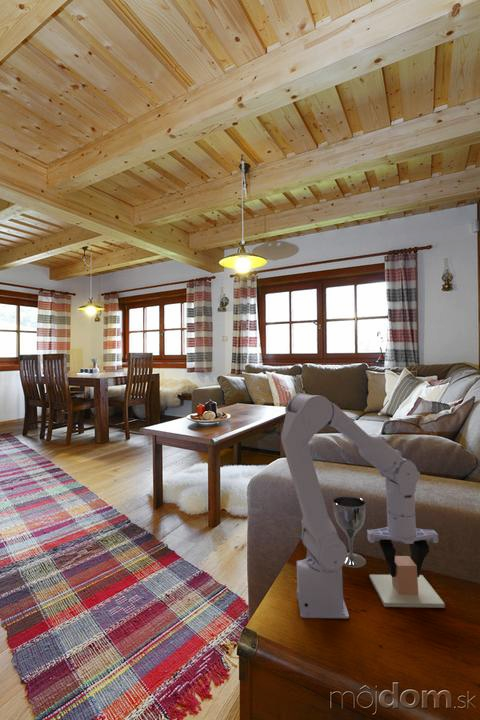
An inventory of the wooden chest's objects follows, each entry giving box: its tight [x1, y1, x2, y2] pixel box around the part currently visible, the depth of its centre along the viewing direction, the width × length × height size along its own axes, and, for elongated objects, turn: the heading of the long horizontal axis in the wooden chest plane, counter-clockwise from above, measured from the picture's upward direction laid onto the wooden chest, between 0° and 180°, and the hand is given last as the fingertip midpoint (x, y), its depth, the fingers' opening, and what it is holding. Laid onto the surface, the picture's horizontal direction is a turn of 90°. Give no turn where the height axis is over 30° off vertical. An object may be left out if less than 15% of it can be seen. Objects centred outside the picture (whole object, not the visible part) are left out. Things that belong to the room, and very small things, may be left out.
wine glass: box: [332, 495, 367, 569], centre depth 89 cm, size 8×8×15 cm
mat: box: [369, 574, 446, 609], centre depth 76 cm, size 12×10×1 cm
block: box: [392, 555, 418, 595], centre depth 76 cm, size 4×4×6 cm
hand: (403, 574), depth 76 cm, fingers open, 4 cm apart
